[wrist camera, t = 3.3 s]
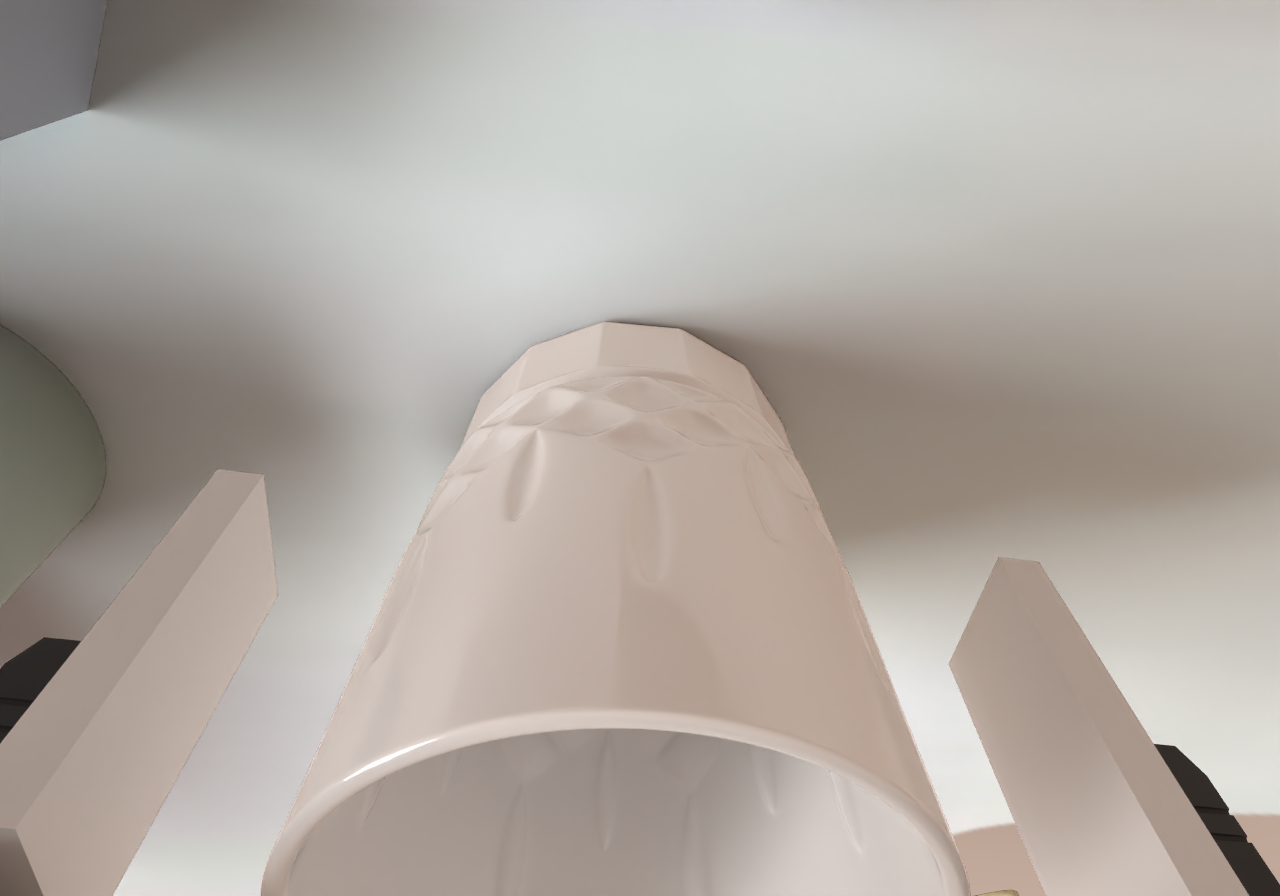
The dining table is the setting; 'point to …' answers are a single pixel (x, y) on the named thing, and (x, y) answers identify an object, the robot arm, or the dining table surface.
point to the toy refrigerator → (1001, 893)
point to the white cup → (619, 664)
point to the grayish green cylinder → (41, 460)
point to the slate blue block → (46, 60)
